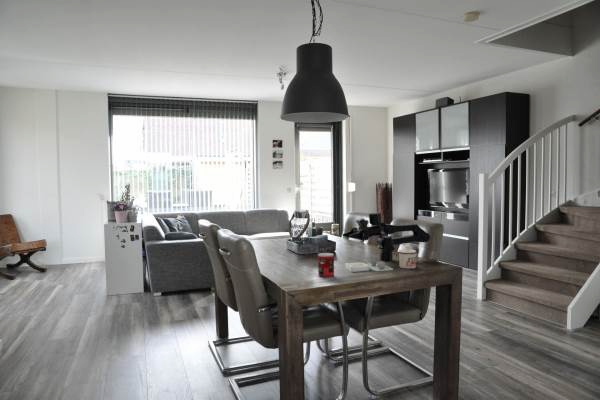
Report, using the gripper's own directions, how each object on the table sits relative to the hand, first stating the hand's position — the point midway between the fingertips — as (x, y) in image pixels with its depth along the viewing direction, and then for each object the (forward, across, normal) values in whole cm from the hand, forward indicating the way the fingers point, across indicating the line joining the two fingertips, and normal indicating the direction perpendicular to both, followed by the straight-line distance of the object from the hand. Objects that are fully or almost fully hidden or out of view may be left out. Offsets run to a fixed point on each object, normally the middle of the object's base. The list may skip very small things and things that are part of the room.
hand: (345, 235), depth 242 cm
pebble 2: (-10, +20, +18) cm, 28 cm away
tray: (-10, +14, +18) cm, 25 cm away
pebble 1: (-10, +10, +17) cm, 22 cm away
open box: (+2, +15, +17) cm, 23 cm away
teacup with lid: (-27, +19, +20) cm, 38 cm away
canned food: (+21, +20, +16) cm, 33 cm away
